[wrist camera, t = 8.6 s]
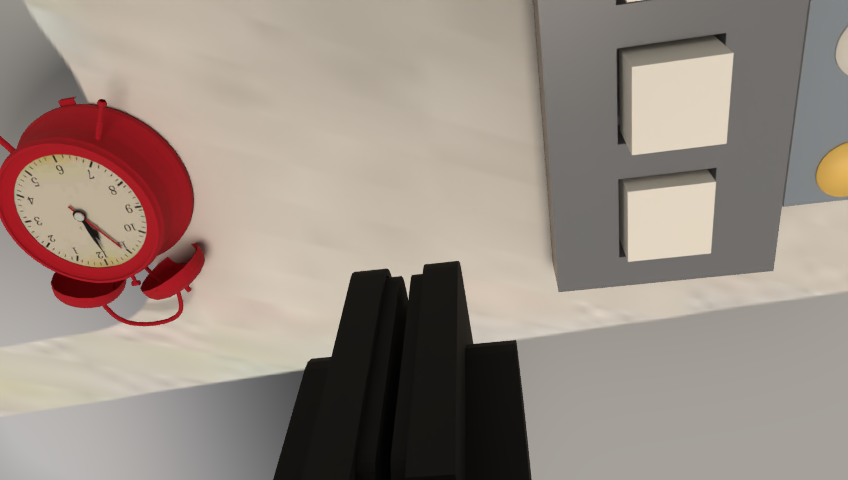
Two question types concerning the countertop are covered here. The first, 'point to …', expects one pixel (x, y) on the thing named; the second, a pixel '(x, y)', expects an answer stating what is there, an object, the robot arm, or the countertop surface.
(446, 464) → the robot arm
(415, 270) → the countertop surface
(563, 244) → the button board
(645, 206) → the key
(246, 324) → the countertop surface
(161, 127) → the countertop surface
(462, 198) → the countertop surface
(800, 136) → the pattern card
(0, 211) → the alarm clock
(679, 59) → the key middle
